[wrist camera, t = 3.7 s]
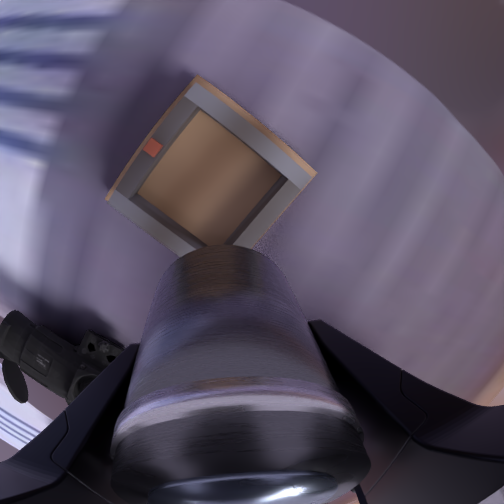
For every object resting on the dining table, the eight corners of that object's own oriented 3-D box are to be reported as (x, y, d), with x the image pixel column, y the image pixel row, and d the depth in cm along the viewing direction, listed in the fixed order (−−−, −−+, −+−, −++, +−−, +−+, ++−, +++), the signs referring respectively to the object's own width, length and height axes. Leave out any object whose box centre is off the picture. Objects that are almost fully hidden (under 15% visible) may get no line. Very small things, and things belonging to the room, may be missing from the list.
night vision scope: (177, 371, 28) (143, 446, 24) (34, 288, 23) (2, 367, 19) (194, 386, 21) (153, 480, 17) (7, 276, 16) (-30, 377, 12)
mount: (310, 170, 19) (329, 177, 16) (220, 274, 22) (221, 300, 18) (199, 79, 16) (194, 65, 13) (112, 195, 18) (91, 206, 15)
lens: (321, 294, 11) (418, 458, 4) (236, 376, 12) (258, 532, 5) (207, 209, 9) (199, 415, 2) (128, 319, 10) (78, 496, 3)
